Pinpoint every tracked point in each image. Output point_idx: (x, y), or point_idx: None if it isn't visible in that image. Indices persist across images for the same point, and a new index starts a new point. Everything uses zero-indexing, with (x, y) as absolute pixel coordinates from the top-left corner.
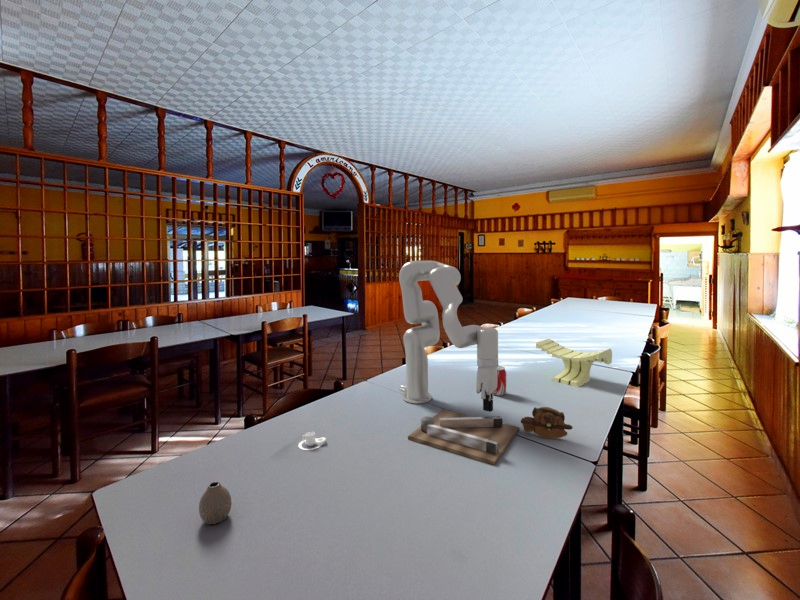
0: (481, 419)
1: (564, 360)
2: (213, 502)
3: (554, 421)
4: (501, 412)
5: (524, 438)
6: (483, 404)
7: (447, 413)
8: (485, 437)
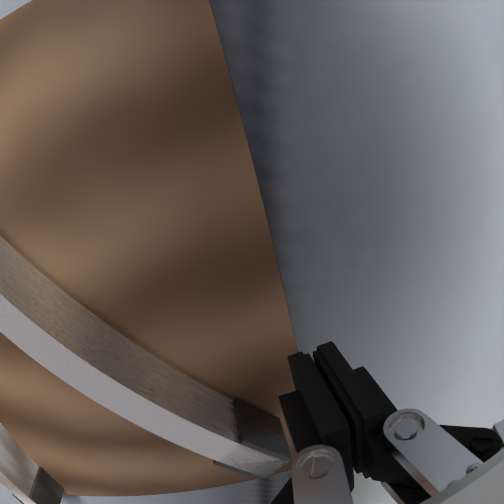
0: (132, 419)
1: None
2: None
3: None
4: (466, 269)
5: (259, 485)
6: (306, 396)
7: (140, 10)
8: (82, 435)
